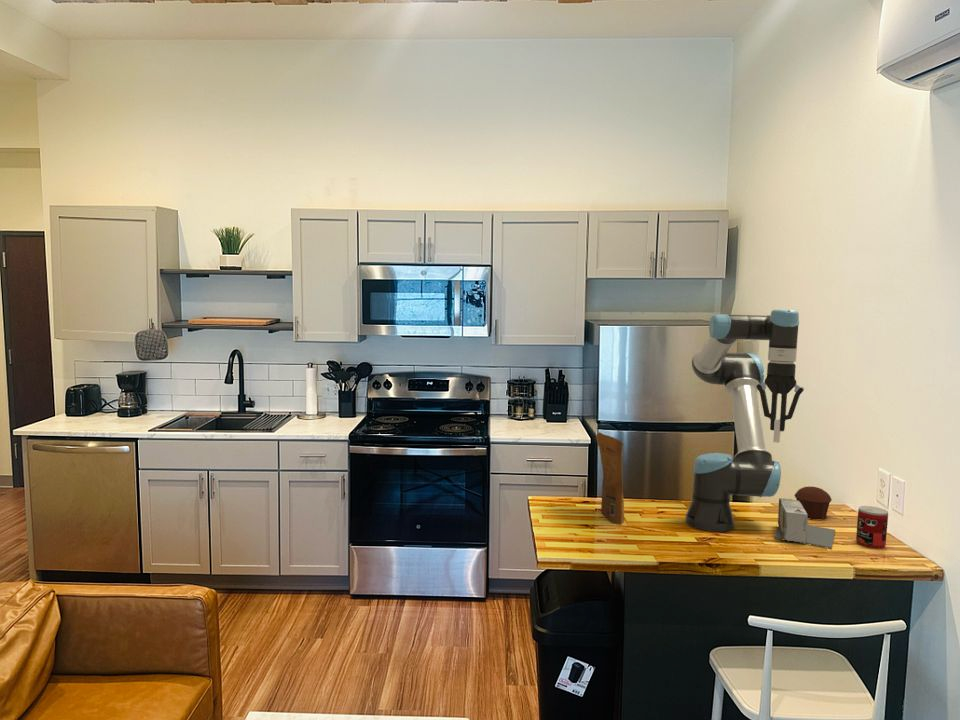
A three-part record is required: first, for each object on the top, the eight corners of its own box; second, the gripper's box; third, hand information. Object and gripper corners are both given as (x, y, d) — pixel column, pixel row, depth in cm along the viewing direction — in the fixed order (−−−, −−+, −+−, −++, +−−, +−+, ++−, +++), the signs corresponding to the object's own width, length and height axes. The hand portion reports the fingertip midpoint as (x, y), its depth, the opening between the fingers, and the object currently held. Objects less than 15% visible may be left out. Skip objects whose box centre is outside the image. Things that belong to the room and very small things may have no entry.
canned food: (850, 540, 209) (852, 505, 208) (874, 539, 210) (877, 505, 209) (866, 549, 202) (869, 513, 201) (891, 548, 202) (894, 513, 201)
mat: (774, 538, 209) (774, 536, 209) (781, 522, 225) (781, 520, 225) (831, 549, 201) (831, 547, 201) (835, 531, 217) (835, 529, 217)
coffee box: (784, 540, 205) (777, 525, 221) (807, 543, 204) (798, 527, 219) (785, 511, 205) (778, 498, 220) (808, 513, 203) (800, 500, 218)
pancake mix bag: (609, 526, 216) (613, 441, 213) (591, 508, 235) (594, 430, 232) (629, 526, 217) (633, 441, 214) (610, 508, 236) (613, 430, 233)
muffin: (794, 518, 230) (796, 489, 229) (791, 509, 240) (793, 482, 239) (832, 523, 226) (835, 494, 225) (828, 513, 236) (830, 485, 235)
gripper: (755, 361, 196) (750, 441, 198) (805, 364, 189) (799, 446, 191) (759, 360, 202) (755, 436, 204) (807, 363, 195) (802, 442, 197)
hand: (776, 441), depth 197 cm, fingers closed
